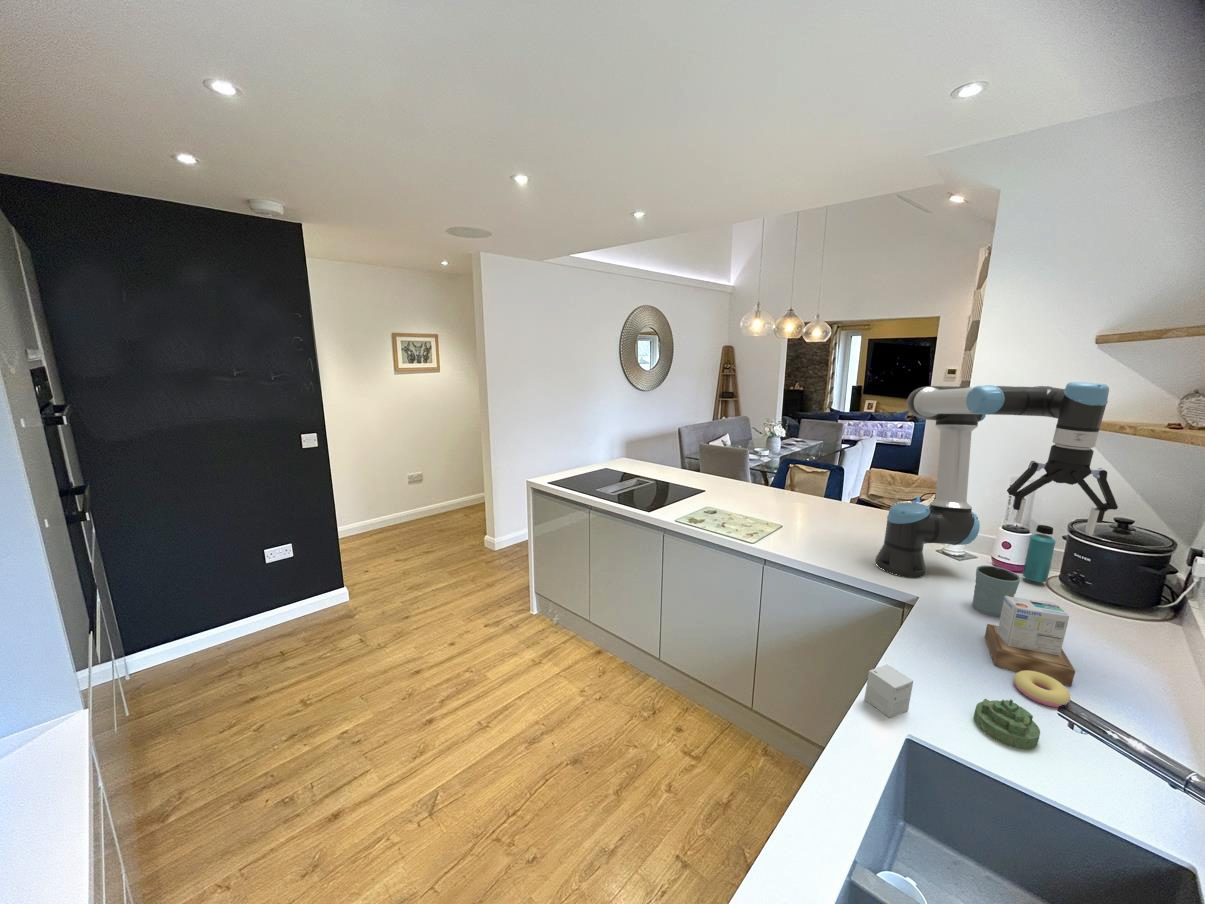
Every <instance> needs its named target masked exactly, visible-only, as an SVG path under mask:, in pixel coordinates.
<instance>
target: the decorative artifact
mask: <svg viewBox="0 0 1205 904" xmlns="http://www.w3.org/2000/svg"><path fill="white" fill-rule="evenodd" d="M1033 718H1034V716H1033V715H1032V714H1031V713H1030V712H1029V711H1028V710H1027V709H1025V708H1024V707H1023V706H1020V705H1018V704H1017V703H1016V702H1014V700H1013V699H1009V700H1007V699H1002V700H989V699H987V698H984V699H983V701H980V702H978V703H977V704H976V705H975V710H974V713H973V721H974V723H975V725H976V727H978V728H979V730H980V731H982V732H983V733H984V732H985V733H986V734H985V733H984V734H985V735H986V736H988V735H989V736H990V738H991V737H992V738H991V739H993V740H994V739H995V740H994V741H996V740H997V741H996V742H998V741H999V743H1000V742H1001V743H1000V744H1002V745H1005V746H1008V747H1010V748H1014V749H1017V750H1024V751H1025V750H1033V749H1034V750H1035V748H1037V746H1038V744H1039V739H1040V736H1041V729H1040V727H1039V726H1038V724H1037V723H1036V722H1035V721H1034V720H1033ZM989 736H988V737H989Z"/></svg>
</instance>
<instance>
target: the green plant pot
mask: <svg viewBox="0 0 1205 904" xmlns="http://www.w3.org/2000/svg"><path fill="white" fill-rule="evenodd" d="M1020 582H1021V577H1020V575H1018V574H1017V573H1015V572H1013V571H1012V570H1008V569H1006V568H1003V567H999V566H995V565H986V564H985V565H979V566H976V569H975V585H974V591H973V598H972V606H973V608H974V609H976V610H977V611H979V612H981V613H983V614H986V615H989V616H993V617H999V618H1000V617H1001V612H1002V607H1003V602H1004V596H1009V597H1015V595H1016V593H1017V590H1018V587H1019V585H1020Z"/></svg>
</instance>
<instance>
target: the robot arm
mask: <svg viewBox="0 0 1205 904" xmlns="http://www.w3.org/2000/svg"><path fill="white" fill-rule="evenodd" d="M1109 392H1110V387H1109V386H1108V385H1107V384H1104V383H1098V382H1097V383H1095V382H1083V381H1081V382H1080V381H1079V382H1077V381H1075V382H1068V383H1067V384H1066V385H1065V388H1059V387H1054V386H1053V387H1052V386H1048V385H1046V386H1044V385H1037V386H1011V385H1010V386H1009V385H994V384H991V385H989V384H987V385H977V386H974V387H972V386H944V385H943V386H942V385H941V386H940V385H926V386H921V387H918V388H916V389H914V390H913V391H912V392H911V393H910V394H909V395H908V397H907V400H906V407H907V409H908V412H910V413H911V415H913V416H915V417H916V418H918V419H921V420H928V421H930V420H931V421H935V427H936V428H937V429H939V431H940V433H939V448H938V461H937V463H938V464H937V476H936V489H935V491H936V492H935V499H934V500H932V502H930V503H929V506H927V505H926V504H923V503H917V502H898V503H896V504H895V503H894V504H893V505H891V506H890V507H889V511H888V514H887V518H886V527H885V534H884V539H883V541H884V542H883V544H882V546H881V548H880V550H879V552H878V553H877V555H876V557H875V561H874V563H875V562H876V564H877V565H878V566H879V567H880V568H882V569H884V570H885V571H884V572H886V571H888V572H891V573H893V574H892V575H894V574H897V575H896V576H898V575H900V576H899V577H902V576H904V577H903V578H909V577H913V579H916V578H915V577H918V578H922V577H924V576H925V574H926V570H927V569H926V568H927V567H926V562H925V557H924V554H923V552H924V544H927V543H928V544H943V545H952V546H959V545H961V546H965V545H969V544H971V543H972V542H973V541H975V540H976V538H977V536H978V535H979V532H980V520H979V516H978V515H977V514H976V513H975V512H973V511H972V506H971V505H970V504H969V503H968V502H967V501H968V486H969V485H968V484H969V475H970V474H969V473H970V471H969V470H970V461H971V460H970V458H971V447H972V446H971V445H972V442H971V441H972V432H973V431H974V430H975V429H977V428H978V425H979V422H982V421H983V420H985V418H986V415H987V416H988V415H995V416H998V415H1000V416H1027V417H1028V416H1029V417H1045V418H1053V419H1057V422H1056V427H1055V430H1054V434H1053V439H1052V443H1053V444H1052V445H1051V446H1050V451H1049V454H1048V459H1047V461H1046V463H1041V462H1037V461H1035V460H1031V461H1030V462H1029V465H1028V468H1027V469H1026V470H1025V471H1024V472H1022V473H1021V475H1020V476H1019V477H1018V478H1016V480H1015V481H1014V482H1013V483H1012V484H1011V485H1010V486H1009V487H1008V488H1007V490H1006V492H1007V494H1008V495H1010V496H1013V497H1014V500H1013V505H1012V509H1013V510H1015V511H1016V514H1015V517H1014V522H1015V523H1016V524H1020V525H1021V524H1022V519H1023V516H1024V515H1023V514H1024V511H1025V507H1026V501H1027V500H1026V498H1025V497H1027V496H1028V495H1029V494H1031V493H1033V492H1035V491H1036V490H1038V489H1040V488H1041V487H1044V486H1045V485H1046V484H1049V483H1052V482H1054V483H1056V484H1067V485H1072V486H1073V485H1076V484H1077V485H1078V486H1079V487H1080V488H1081V489H1082V491H1084V493H1085V494H1086V495H1087V496H1088V498H1089V499H1090V500H1091V502H1092V503H1093V504H1094V505H1095V506H1096V507H1094V506H1090V507H1091V508H1090V512H1089V516H1088V519H1087V523H1086V526H1085V529H1084V532H1085V533H1086V534H1087V535H1088V536H1091V537H1092V536H1094V532H1095V528H1096V526H1097V525H1096V524H1097V523H1098V524H1101V523H1102V522H1104V521H1103V520H1104V517H1105V513H1106V512H1108V510H1109V511H1110V510H1114V511H1115V510H1117V509H1118V508H1119V506H1118V504H1117V502H1116V499H1115V497H1114V494H1113V492H1112V490H1111V486H1110V485H1109V484H1110V483H1109V482H1108V471H1107V470H1105V469H1104V468H1102V467H1101V468H1100V467H1099V468H1096V469H1094V468H1091V464H1092V460H1093V456H1094V452H1095V451H1094V450H1093V448H1095V447H1096V443H1097V440H1098V436H1099V431H1100V428H1101V425H1102V422H1103V417H1104V413H1105V411H1106V407H1107V405H1108V402H1109V401H1108V397H1109ZM1042 469H1044V471H1045V473H1044V474H1042V475H1041V476H1040V477H1039V478H1037V479H1036V480H1034V481H1032V482H1030V484H1027V485H1026V486H1024V485H1025V484H1026V483H1027V482H1028V481H1029V480H1030V479H1031V478H1032V477H1033V476H1034V475H1035V474H1036V472H1040V471H1041V470H1042ZM1090 475H1092V477H1094V478H1095V479H1096V481H1097V483H1098V486H1099V489H1100V490H1101V493H1102V495H1103V498H1104V500H1105V503H1104V502H1103V501H1102V500H1101V499H1100V498H1099V497H1098V495H1097V494H1096V493H1095V492H1094V491H1093V489H1092V488H1091V487H1090V485H1089V484H1088V483H1087V482H1086V480H1085V479H1086V478H1087V477H1089V476H1090ZM1023 486H1024V487H1023ZM1022 487H1023V488H1022ZM876 564H875V565H876ZM879 567H878V568H879ZM880 568H879V569H880ZM882 569H881V570H882ZM888 572H887V573H888ZM891 573H890V574H891Z"/></svg>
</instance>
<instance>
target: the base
mask: <svg viewBox="0 0 1205 904" xmlns="http://www.w3.org/2000/svg"><path fill="white" fill-rule="evenodd" d="M998 627H999V625H996V624H991V623H986V627H985V628H986V629H985V634H984V639H985V643H986V645H987V647H988V651H989V653H990V657H991V659H992V663H993V665H994V666H995V667H1000V668H1002V669H1003V668H1004V669H1006V670H1011V671H1014V672H1016V673H1018V672H1020V671H1024V670H1029V671H1036V672H1039V673H1043V674H1045V675H1048V676H1050V677H1052V678H1054V679H1055V680H1057V681H1058V682H1060V683H1061V684H1062V685H1064V686H1068V687H1069V686H1070V687H1072V686H1073V682H1074V678H1075V674H1076V669H1075V668H1074V666H1073V665H1072V663H1071V662H1070V660H1069V658H1068V657H1067V654H1066V653H1065V651H1064V650H1063V648H1062V649H1061V653H1060V656H1058V655H1053V654H1048V653H1042V652H1037V651H1032V650H1026V649H1021V648H1016V647H1010V646H1007V645H1006V644H1005V643H1004V641H1003V640H1002V639H1001V637H1000V636H999V635H998V633H997V632H998Z"/></svg>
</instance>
